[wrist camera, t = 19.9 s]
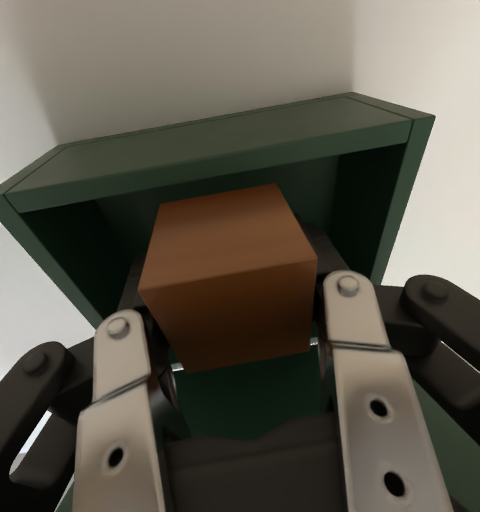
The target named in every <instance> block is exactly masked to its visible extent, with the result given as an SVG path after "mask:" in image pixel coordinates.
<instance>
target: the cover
mask: <svg viewBox="0 0 480 512" xmlns="http://www.w3.org/2000/svg"><path fill="white" fill-rule="evenodd" d="M173 375H174V379H175V384H176V388H177V392H178V396H179V400H180V404H181V409H182V412H183V416H184V418H185V421H186V423H187V425H188V428H189V430H190V433H191V436H192V438H195V437H200V436H205V435H209V436H217V437H225V438H232V439H240V440H254V439H256V438H258V437H260V436H262V435H264V434H266V433H268V432H270V431H271V430H273V429H275V428H277V427H279V426H281V425H283V424H285V423H286V422H288V421H290V420H292V419H296V418H301V417H307V416H312V415H317V414H320V375H319V356H318V344H316V345H311V346H310V351H308V352H303V353H297V354H292V355H286V356H281V357H276V358H270V359H265V360H259V361H254V362H249V363H243V364H238V365H232V366H227V367H221V368H216V369H211V370H205V371H200V372H194V373H189V374H187V373H186V372H185V370H179V371H173ZM411 379H412V382H413V385H414V388H415V391H416V394H417V398H418V401H419V404H420V407H421V410H422V413H423V416H424V420H425V423H426V426H427V429H428V432H429V435H430V438H431V442H432V445H433V448H434V451H435V454H436V457H437V460H438V463H439V467H440V470H441V473H442V476H443V479H444V482H445V485H446V489H447V492H448V493H449V494H450V495H452V496H453V497H454V498H455V499H456V500H458V501H459V502H460V503H461V504H462V505H464V506H465V507H466V508H467V509H468V510H470V511H471V512H480V446H479V445H478V444H477V443H476V442H475V441H474V440H473V439H472V438H471V437H470V436H469V435H468V434H467V433H466V432H465V431H464V430H463V429H462V428H461V427H460V426H459V425H458V424H457V423H456V422H455V421H454V420H453V419H452V418H451V417H450V416H449V415H448V414H447V413H446V412H445V411H444V410H443V409H442V408H441V407H440V406H439V405H438V404H437V403H436V402H435V401H434V400H433V399H432V398H431V397H430V396H429V394H428V393H427V392H426V391H425V390H424V389H423V388H422V387H421V386H420V385H419V384H418V383H417V382H416V381H415V380H414V379H413V378H412V377H411ZM73 489H74V481H73V483H72V485H71V487H70V488H69V490H68V491H67V493H66V495H65V497H64V498H63V500H62V502H61V503H60V505H59V507H58V508H57V510H56V512H72V506H73Z"/></svg>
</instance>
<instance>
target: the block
mask: <svg viewBox="0 0 480 512" xmlns="http://www.w3.org/2000/svg"><path fill="white" fill-rule="evenodd" d="M317 259H318V257H317V255H316V253H315V252H314V250H313V248H312V246H311V244H310V243H309V241H308V239H307V237H306V236H305V234H304V232H303V230H302V228H301V227H300V225H299V223H298V221H297V220H296V218H295V216H294V214H293V212H292V211H291V209H290V207H289V205H288V204H287V202H286V200H285V198H284V196H283V195H282V193H281V191H280V189H279V188H278V186H277V184H276V183H272V184H267V185H261V186H256V187H250V188H244V189H239V190H233V191H228V192H222V193H216V194H211V195H205V196H200V197H194V198H189V199H183V200H177V201H172V202H166V203H161V204H160V205H159V209H158V213H157V217H156V221H155V225H154V228H153V232H152V236H151V240H150V244H149V248H148V251H147V255H146V259H145V263H144V267H143V270H142V274H141V278H140V282H139V286H138V292H139V294H140V295H141V297H142V299H143V300H144V302H145V304H146V305H147V307H148V309H149V311H150V312H151V314H152V316H153V317H154V319H155V321H156V323H157V324H158V326H159V328H160V329H161V331H162V333H163V335H164V336H165V338H166V340H167V341H168V343H169V345H170V347H171V348H172V350H173V352H174V353H175V355H176V357H177V359H178V360H179V362H180V364H181V365H182V367H183V369H184V370H185V372H186V373H187V374H189V373H194V372H200V371H205V370H211V369H216V368H221V367H227V366H232V365H238V364H243V363H249V362H254V361H259V360H265V359H270V358H276V357H281V356H286V355H292V354H297V353H303V352H308V351H310V340H311V329H312V317H313V306H314V294H315V283H316V271H317Z"/></svg>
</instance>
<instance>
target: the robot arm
mask: <svg viewBox="0 0 480 512" xmlns="http://www.w3.org/2000/svg"><path fill="white" fill-rule="evenodd" d="M293 214H294V216H295V218H296V220H297V221H298V223H299V225H300V227H301V228H302V230H303V232H304V234H305V236H306V237H307V239H308V241H309V243H310V244H311V246H312V248H313V250H314V252H315V253H316V255H317V257H318V259H317V271H316V283H315V294H314V306H313V317H312V321H315V323H316V325H317V327H318V334H317V338H318V356H319V375H320V414H317V415H312V416H307V417H301V418H296V419H292V420H290V421H288V422H286V423H285V424H283V425H281V426H279V427H277V428H275V429H273V430H271V431H270V432H268V433H266V434H264V435H262V436H260V437H258V438H256V439H254V440H240V439H232V438H225V437H217V436H209V435H205V436H200V437H195V438H192V436H191V433H190V430H189V428H188V425H187V423H186V421H185V418H184V416H183V412H182V409H181V404H180V400H179V396H178V392H177V388H176V384H175V379H174V375H173V371H172V367H171V363H170V360H169V359H168V353H169V347H170V345H169V343H168V341H167V340H166V338H165V336H164V335H163V333H162V331H161V329H160V328H159V326H158V324H157V323H156V321H155V319H154V317H153V316H152V314H151V312H150V311H149V309H148V307H147V305H146V304H145V302H144V300H143V299H142V297H141V295H140V294H139V292H138V286H139V282H140V278H141V274H142V270H143V267H144V263H145V259H146V255H147V252H142V253H140V254H139V255H138V256H137V257H136V258H135V260H134V261H133V262H132V265H131V268H130V271H129V273H130V274H128V277H127V282H126V284H125V287H124V290H123V293H122V296H121V300H120V303H119V306H118V309H117V312H116V313H113V314H112V315H110V316H109V317H107V318H106V319H105V320H104V321H103V322H102V323H101V324H100V325H99V327H98V328H97V330H96V332H95V335H94V337H92V338H90V339H88V340H86V341H83V342H81V343H79V344H77V345H75V346H72V347H70V348H68V349H66V348H65V347H64V346H63V345H62V344H61V343H59V342H55V341H51V342H46V343H43V344H40V345H38V346H36V347H34V348H33V349H31V350H30V351H28V352H27V353H26V354H25V355H23V356H22V357H21V358H20V359H19V360H18V361H17V363H16V364H15V365H14V366H13V367H12V368H11V370H10V371H9V372H8V373H7V374H6V376H5V377H4V378H3V379H2V380H1V381H0V512H54V511H55V509H56V507H57V505H58V503H59V501H60V499H61V497H62V495H63V493H64V491H65V489H66V487H67V485H68V483H69V481H70V479H71V477H72V475H73V473H74V471H75V473H74V489H73V506H72V512H471V511H470V510H468V509H467V508H466V507H465V506H464V505H462V504H461V503H460V502H459V501H458V500H456V499H455V498H454V497H453V496H452V495H450V494H449V493H448V492H447V489H446V485H445V482H444V479H443V476H442V473H441V470H440V467H439V463H438V460H437V457H436V454H435V451H434V448H433V445H432V442H431V438H430V435H429V432H428V429H427V426H426V423H425V420H424V416H423V413H422V410H421V407H420V404H419V401H418V398H417V394H416V391H415V388H414V385H413V382H412V379H411V377H412V378H413V379H414V380H415V381H416V382H417V383H418V384H419V385H420V386H421V387H422V388H423V389H424V390H425V391H426V392H427V393H428V394H429V396H430V397H431V398H432V399H433V400H434V401H435V402H436V403H437V404H438V405H439V406H440V407H441V408H442V409H443V410H444V411H445V412H446V413H447V414H448V415H449V416H450V417H451V418H452V419H453V420H454V421H455V422H456V423H457V424H458V425H459V426H460V427H461V428H462V429H463V430H464V431H465V432H466V433H467V434H468V435H469V436H470V437H471V438H472V439H473V440H474V441H475V442H476V443H477V444H478V445H479V446H480V374H479V373H478V372H477V371H475V370H474V369H473V368H472V367H471V366H469V365H468V364H467V363H466V362H465V361H464V360H462V359H461V358H460V357H459V356H457V355H456V354H455V353H454V352H453V351H451V350H450V349H449V348H448V347H446V346H445V345H444V344H443V343H442V342H441V341H443V342H444V343H445V344H446V345H448V346H449V347H450V348H452V349H453V350H454V351H455V352H456V353H457V354H459V355H460V356H461V357H462V358H464V359H465V360H466V361H467V362H469V363H470V364H471V365H472V366H473V367H475V368H476V369H477V370H478V371H480V300H479V299H477V298H476V297H474V296H472V295H471V294H469V293H468V292H466V291H464V290H463V289H461V288H460V287H458V286H456V285H455V284H453V283H451V282H450V281H448V280H445V279H443V278H440V277H437V276H432V275H417V276H413V277H411V278H409V279H408V280H407V281H406V283H405V286H404V287H397V286H383V285H375V284H372V283H371V282H370V281H369V280H368V279H367V278H366V277H365V276H363V275H362V274H359V273H357V272H354V271H351V270H350V269H349V267H348V266H347V265H346V263H345V262H344V260H343V259H342V257H341V256H340V254H339V253H338V251H337V250H336V248H335V247H334V245H332V242H331V241H330V239H329V238H328V237H327V235H326V234H325V232H324V231H323V229H322V228H321V227H319V226H318V225H316V224H314V223H313V222H309V223H304V222H303V221H302V219H301V217H300V216H299V214H298V213H297V212H295V213H293ZM150 240H151V239H150ZM149 244H150V242H149ZM148 248H149V245H148ZM147 251H148V249H147ZM47 410H48V411H49V412H51V413H52V415H51V416H50V418H49V419H48V421H47V422H46V424H45V426H44V427H43V429H42V430H41V432H40V433H39V435H38V436H37V438H36V440H35V441H34V443H33V444H32V446H31V447H30V449H29V451H28V452H27V454H26V455H25V457H24V458H23V460H22V461H21V463H20V465H19V466H18V468H17V469H16V470H15V471H14V472H13V473H12V474H11V475H9V472H10V468H11V465H12V463H13V461H14V459H15V458H16V456H17V454H18V453H19V452H20V450H21V449H22V447H23V446H24V444H25V443H26V441H27V440H28V438H29V436H30V435H31V433H32V432H33V430H34V429H35V427H36V426H37V424H38V423H39V421H40V420H41V418H42V417H43V415H44V414H45V412H46V411H47Z"/></svg>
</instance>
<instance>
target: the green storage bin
mask: <svg viewBox="0 0 480 512" xmlns="http://www.w3.org/2000/svg"><path fill="white" fill-rule="evenodd" d="M435 117H436V116H435V115H432V114H428V113H425V112H421V111H418V110H414V109H411V108H407V107H404V106H400V105H397V104H393V103H390V102H386V101H383V100H379V99H376V98H372V97H369V96H365V95H362V94H358V93H354V92H350V93H344V94H339V95H333V96H328V97H322V98H317V99H311V100H306V101H300V102H295V103H289V104H283V105H278V106H272V107H267V108H261V109H256V110H250V111H245V112H239V113H234V114H228V115H223V116H217V117H212V118H206V119H200V120H195V121H189V122H184V123H178V124H173V125H167V126H162V127H156V128H151V129H145V130H140V131H134V132H129V133H123V134H117V135H112V136H106V137H101V138H95V139H90V140H84V141H79V142H73V143H68V144H62V145H58V146H56V147H55V148H53V149H52V150H50V151H49V152H47V153H46V154H44V155H43V156H41V157H40V158H38V159H37V160H35V161H34V162H33V163H31V164H30V165H28V166H27V167H25V168H24V169H22V170H21V171H19V172H18V173H17V174H15V175H14V176H12V177H11V178H9V179H8V180H6V181H5V182H3V183H2V184H0V222H1V223H2V224H3V226H4V227H5V228H6V229H7V230H8V231H9V232H10V233H11V235H12V236H13V237H14V238H15V239H16V240H17V241H18V242H19V244H20V245H21V246H22V247H23V248H24V249H25V250H26V252H27V253H28V254H29V255H30V256H31V257H32V258H33V259H34V261H35V262H36V263H37V264H38V265H39V266H40V267H41V268H42V270H43V271H44V272H45V273H46V274H47V275H48V276H49V277H50V279H51V280H52V281H53V282H54V283H55V284H56V285H57V287H58V288H59V289H60V290H61V291H62V292H63V293H64V294H65V296H66V297H67V298H68V299H69V300H70V301H71V302H72V303H73V305H74V306H75V307H76V308H77V309H78V310H79V311H80V313H81V314H82V315H83V316H84V317H85V318H86V319H87V320H88V322H89V323H90V324H91V325H92V326H93V327H94V328H95V329H96V330H97V328H98V327H99V325H100V324H101V323H102V322H103V321H104V320H105V319H106V318H107V317H109V316H110V315H112V314H113V313H116V312H117V309H118V306H119V303H120V300H121V296H122V293H123V290H124V287H125V284H126V282H127V277H128V274H130V273H129V271H130V268H131V265H132V262H133V261H134V260H135V258H136V257H137V256H138V255H139V254H140V253H142V252H147V249H148V245H149V242H150V239H151V236H152V232H153V228H154V225H155V221H156V217H157V213H158V209H159V205H160V204H161V203H166V202H172V201H177V200H183V199H189V198H194V197H200V196H205V195H211V194H216V193H222V192H228V191H233V190H239V189H244V188H250V187H256V186H261V185H267V184H272V183H276V184H277V186H278V188H279V189H280V191H281V193H282V195H283V196H284V198H285V200H286V202H287V204H288V205H289V207H290V209H291V211H292V212H293V213H295V212H297V213H298V214H299V216H300V217H301V219H302V221H303V222H304V223H309V222H313V223H314V224H316V225H318V226H319V227H321V228H322V229H323V231H324V232H325V234H326V235H327V237H328V238H329V239H330V241H331V242H332V245H334V247H335V248H336V250H337V251H338V253H339V254H340V256H341V257H342V259H343V260H344V262H345V263H346V265H347V266H348V267H349V269H350V270H351V271H354V272H357V273H359V274H362V275H363V276H365V277H366V278H367V279H368V280H369V281H370V282H371V283H372V284H375V285H381V282H382V279H383V276H384V273H385V270H386V267H387V264H388V261H389V258H390V255H391V252H392V249H393V246H394V243H395V239H396V236H397V233H398V230H399V227H400V224H401V221H402V218H403V215H404V212H405V209H406V206H407V203H408V200H409V197H410V194H411V191H412V188H413V185H414V182H415V178H416V175H417V172H418V169H419V166H420V163H421V160H422V157H423V154H424V151H425V148H426V145H427V142H428V139H429V136H430V133H431V130H432V127H433V124H434V121H435ZM317 334H318V327H317V325H316V323H315V321H312V329H311V340H310V344H311V343H316V342H318V338H317ZM168 359H169V360H170V363H171V367H172V370H173V369H178V368H183V367H182V365H181V364H180V362H179V360H178V359H177V357H176V355H175V353H174V352H173V350H172V348H171V347H169V353H168Z"/></svg>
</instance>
